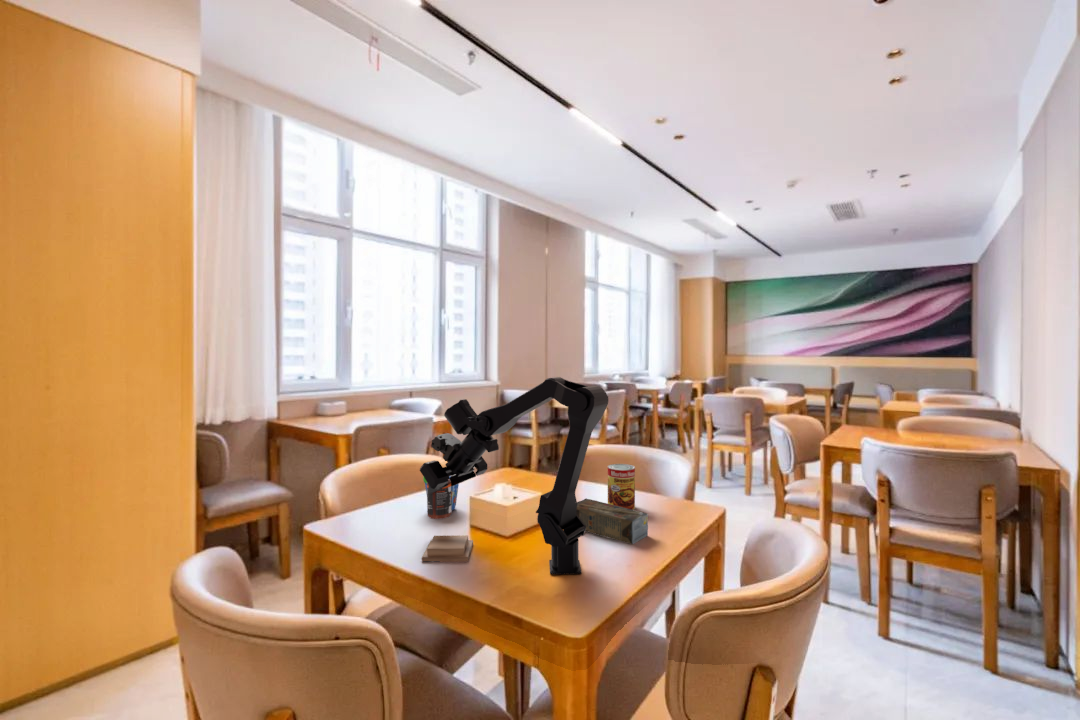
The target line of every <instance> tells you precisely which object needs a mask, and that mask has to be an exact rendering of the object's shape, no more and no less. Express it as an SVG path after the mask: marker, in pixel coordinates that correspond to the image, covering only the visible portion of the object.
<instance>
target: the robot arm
mask: <svg viewBox="0 0 1080 720" xmlns="http://www.w3.org/2000/svg"><path fill="white" fill-rule="evenodd" d="M552 400H555V401H556V402H558V403H559V404H561V405H563V406H565V407H567V417H568V423H569V428H568V432H567V436H566V439H565V443H564V447H563V451H562V454H561V458H560V460H559V461H560V462H559V466H558V470H557V472H556V476H555V477H556V478H555V481H554V483H553V487H552V490H551V491H547V492H546V493H543V494H541V495H540V498H539V501H538V502H539V503H538V507H537V509H536V511H535V514H537V518H536V519H537V521H536V522H537V524H539V528H540V529H541V530H540V531H541V532H542V536H543V541H544V543H545V544H547V545H550V546H551V549H550V551H551V553H550V555H551V557H550V558H551V559H549V561H548V563H549V565H548V566H549V574H550V575H582V572H583V571H582V567H581V562H580V559H579V538H581V537H583V536H584V535H585V533H586V531H585V530H586V526H585V524H584V523H583V522H582V521H581V519H580V518H579V517H578V515H577V514H576V511H577V502H578V501H577V497H576V490H577V488H578V487H577V486H578V483H579V480H580V476H581V473H582V469H583V465H584V462H585V458H586V455H587V450H588V447H589V444H590V440H591V436H592V433H593V431H594V429H595V428H596V427H597V425H598V424H599V423H600V420H601V419H602V417H604V414H605V412H606V410H607V407H608V405H609V396H608V394H607V392H606V391H605V390H604V388H602V387H600V386H599V385H590V386H587V385H585V384H582V383H578V382H573V381H571V380H567V379H565V378H563V377H561V376H556V377H555V376H554V377H548V378H546V379H544V381H543V382H541V383H539V384H538V385H536V386H535V387H533V388H531V389H529V390H527V391H526V392H524V393H522V394H521V395H519V396H518V397H516V398H514V399H512V400H511V401H509V402H508V403H505V404H503V405H500V406H496V407H491V408H488V409H485V410H483V411H481V412H480V413H478V414H477V412H476V411H475V410H474V409H473V407H472V406H471V405H470V402H469V401H468V399H465V398H463V399H459V401H458V402H457V403H455V404H453V405H451V406H450V407H448V408H447V409H446V410H445V411H444V413H443V415H444V416H443V417H445V419H446V420H447V422H448V423H449V425H450V426H451V427H452V428H453V430H454V432H456V434H457V435H462V436H465V437H464V439H463V440H462V441H461V440H460V439H459V438H458V437H456V436H455V435H453V434H452V433H448V432H447V433H442V434H438V435H436V436H434V438H433V439H432V440H431V444H430V446H431V448H432V449H433V450H435V451H436V452H440V453H441V454H443V456H442V459H443V460H444V462H446V463H445V466H444V467H443V465H442V464H441V463H440V461H439V460H431V461H427V462H423V464H422V465H421V466H420V468H419V472H420V473H421V475H422V477H423V476H424V478H425V479H426V481H427V483H428V484H429V487H428V493H429V494H431V493H434V492H436V491H438V490H440V489H442V488H444V487H446V486H448V484H447V482H448V480H449V479H450V480H451V487H452V486H455V485H457V484H459V485H460V484H462V483H464V482H466V481H468V480H471V479H474V478H476V476H478V477H479V476H481V475H483V474H485V473H486V471H487V470H488V463H487V462H486V459H484V458H483V455H484V453H485V452H488V453H492V452H495V451H499V449H500V447H499V443H498V441H499V440H498V439H497V438H494V437H493V436H495V435H499V434H504V433H506V432H508V431H509V430H510V429H511V428H512V427H514V426H515V425H516V424H517V422H518V421H519V420H520V418H522V417H524V416H525V415H527V414H529V413H531V412H532V411H534V410H536V409H538V408H540V407H541V406H543V405H545V404H546V403H548V402H551V401H552ZM475 469H476V471H475ZM474 471H475V472H474ZM450 476H451V477H450ZM449 477H450V478H449Z"/></svg>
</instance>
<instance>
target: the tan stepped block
mask: <svg viewBox="0 0 1080 720" xmlns="http://www.w3.org/2000/svg"><path fill="white" fill-rule="evenodd" d="M473 545H474V540H473V539H469V535H460V534H459V535H434V536H433V537H432V539H431V540H430V541H429V542H428V545H427V546H426V549H425V551H424V552H423V554H422V556H421V562H422V561H440V562H439V563H441V562H442V563H444V562H445V563H446V562H447V563H450V562H455V563H457V562H459V563H460V562H461V563H463V562H469V559H470V556H471V552H472V550H473Z"/></svg>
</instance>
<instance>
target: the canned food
mask: <svg viewBox="0 0 1080 720" xmlns="http://www.w3.org/2000/svg"><path fill="white" fill-rule="evenodd" d="M635 471H636V466H635V465H633V464H627V463H613V464H609V465H607V504H611V505H615V506H619V507H623V508H627V509H631V510H635V509H636V472H635Z"/></svg>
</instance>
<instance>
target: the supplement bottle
mask: <svg viewBox="0 0 1080 720" xmlns="http://www.w3.org/2000/svg"><path fill="white" fill-rule="evenodd" d="M447 484H448V486H446V487H444V488H442V489H440V490H438V491H436V492H434V493H431V494H429V493H428V487H429V484H428V483H427V494H426V503H427V504H426V505H427V506H426V507H427V517H428V518H430V519H433V520H443V519H446V518H449V517H451V516H452V511H453V510H452V502H451V480H450V479H449V480H448V482H447Z"/></svg>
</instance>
